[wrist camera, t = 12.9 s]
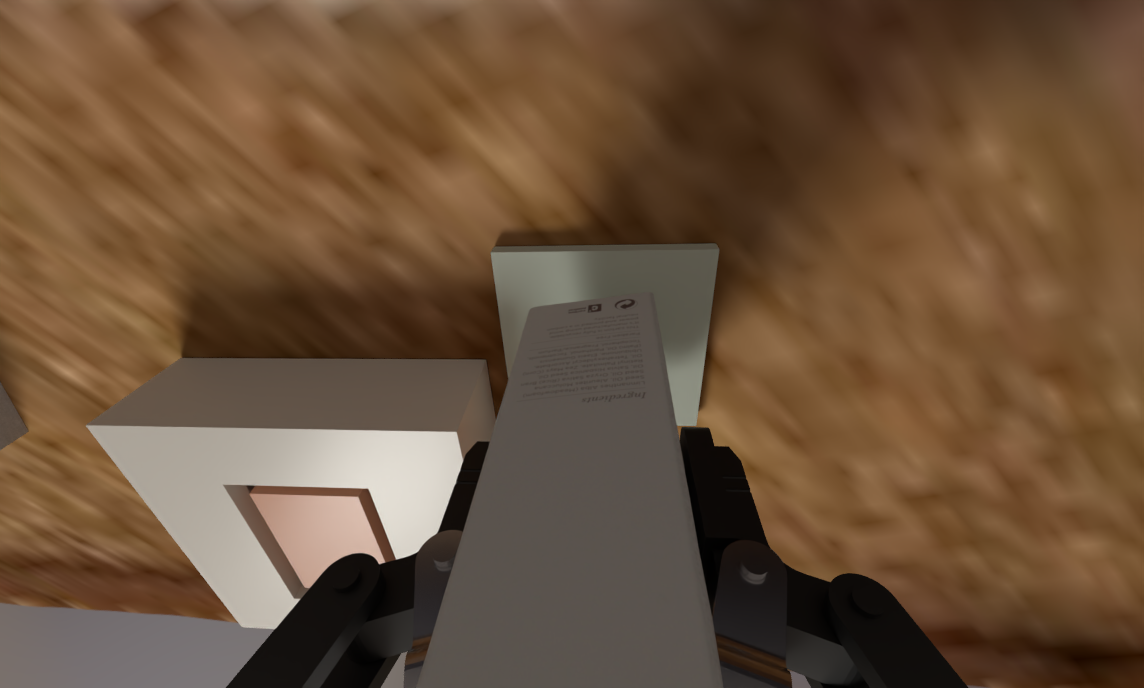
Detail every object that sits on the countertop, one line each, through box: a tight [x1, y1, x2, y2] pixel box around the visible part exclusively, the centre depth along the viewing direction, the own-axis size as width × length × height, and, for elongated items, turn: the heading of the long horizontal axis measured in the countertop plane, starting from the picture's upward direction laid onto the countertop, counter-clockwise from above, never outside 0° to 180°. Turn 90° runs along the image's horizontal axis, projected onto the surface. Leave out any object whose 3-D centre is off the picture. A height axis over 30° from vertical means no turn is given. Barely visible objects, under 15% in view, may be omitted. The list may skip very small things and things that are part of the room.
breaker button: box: [249, 485, 396, 588], centre depth 22 cm, size 5×7×4 cm
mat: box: [491, 243, 719, 426], centre depth 19 cm, size 8×8×1 cm
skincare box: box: [416, 292, 723, 688], centre depth 12 cm, size 6×4×12 cm
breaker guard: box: [86, 358, 496, 629], centre depth 22 cm, size 14×14×4 cm
